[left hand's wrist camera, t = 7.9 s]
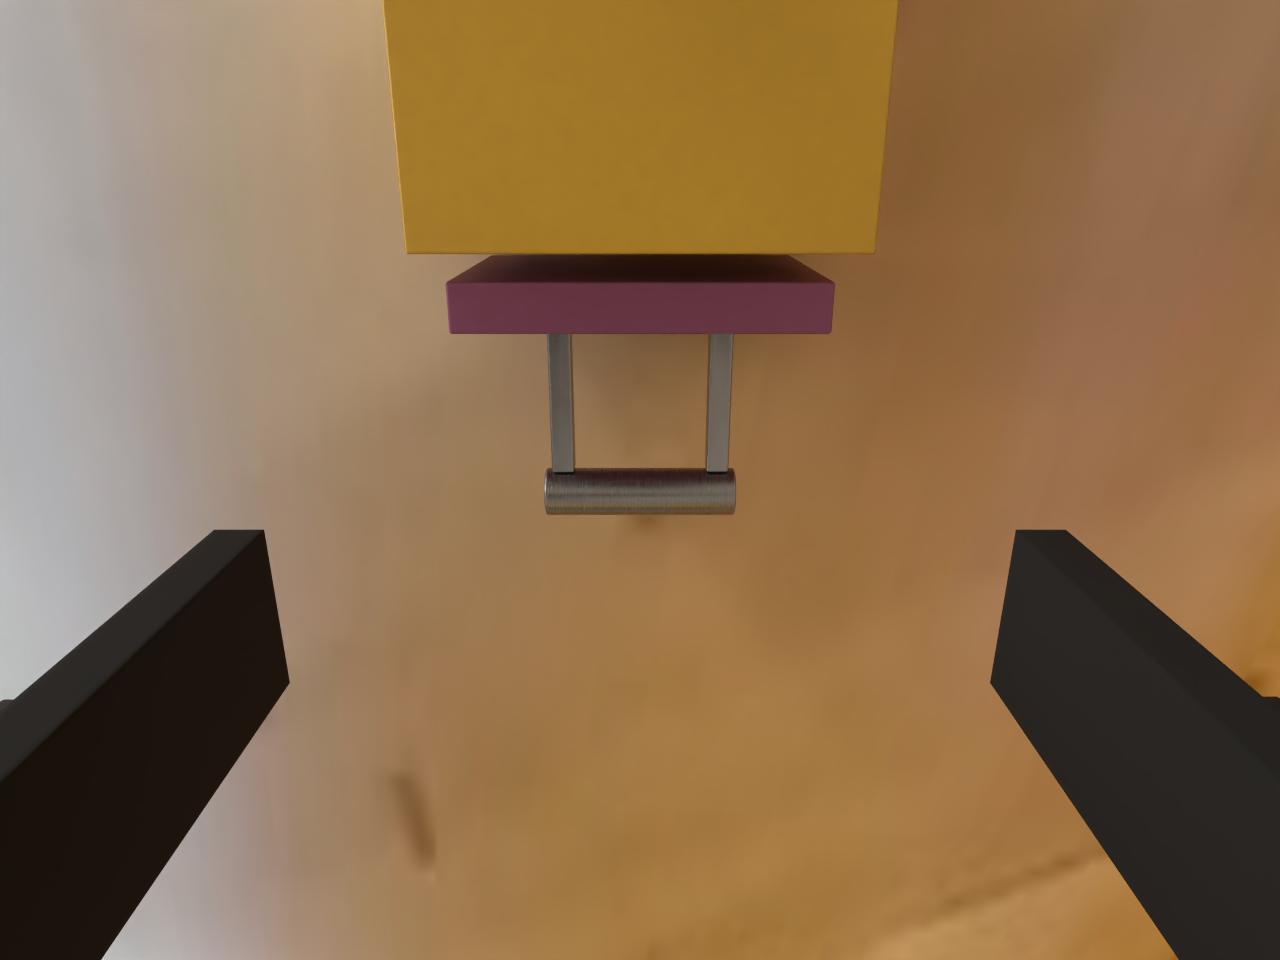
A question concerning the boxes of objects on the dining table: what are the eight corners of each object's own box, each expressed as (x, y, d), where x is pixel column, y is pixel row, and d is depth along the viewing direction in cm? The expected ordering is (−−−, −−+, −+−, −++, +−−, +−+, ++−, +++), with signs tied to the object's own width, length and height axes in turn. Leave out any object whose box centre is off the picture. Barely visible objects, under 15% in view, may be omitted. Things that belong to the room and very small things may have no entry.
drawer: (777, 465, 27) (814, 546, 22) (502, 465, 27) (465, 546, 22) (835, -499, 19) (921, -791, 13) (445, -499, 19) (360, -790, 13)
